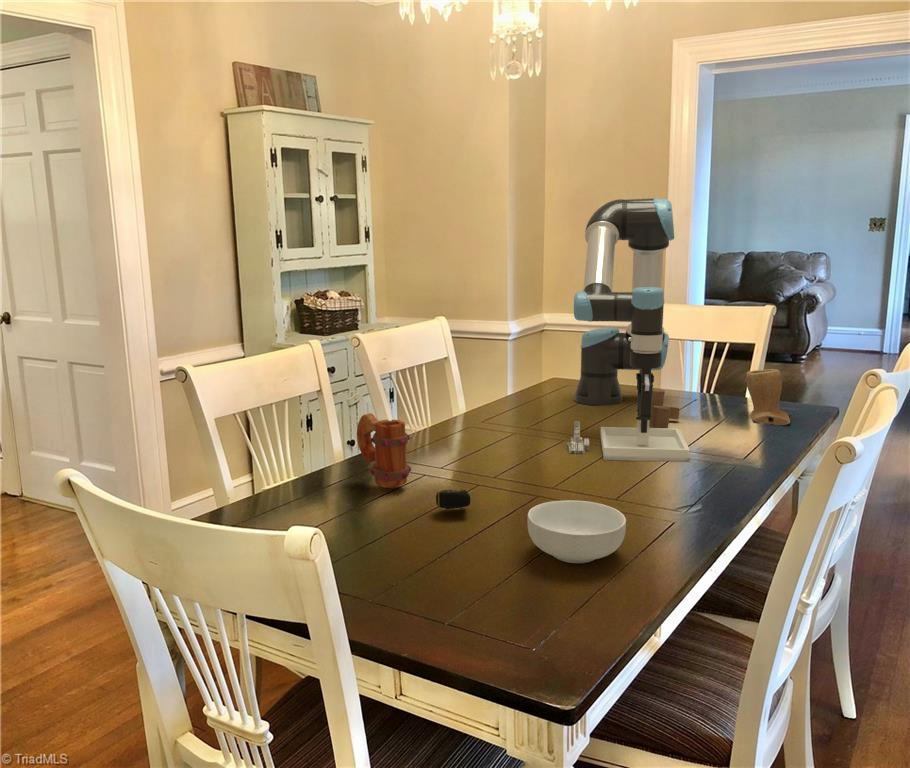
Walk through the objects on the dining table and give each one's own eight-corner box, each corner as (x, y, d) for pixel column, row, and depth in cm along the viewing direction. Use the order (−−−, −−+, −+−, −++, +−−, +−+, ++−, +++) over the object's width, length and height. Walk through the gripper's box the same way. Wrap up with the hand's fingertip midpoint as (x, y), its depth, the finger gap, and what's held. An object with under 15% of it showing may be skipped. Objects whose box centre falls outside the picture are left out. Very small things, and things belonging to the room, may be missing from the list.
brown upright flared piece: (743, 414, 231) (746, 364, 228) (786, 416, 228) (790, 366, 225) (743, 426, 217) (746, 373, 214) (790, 429, 214) (794, 375, 211)
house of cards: (604, 457, 192) (605, 427, 190) (569, 457, 192) (569, 426, 191) (601, 447, 200) (602, 418, 199) (567, 446, 201) (567, 417, 200)
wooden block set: (673, 438, 207) (678, 400, 205) (639, 433, 210) (644, 396, 207) (678, 423, 223) (682, 388, 221) (647, 419, 226) (651, 384, 224)
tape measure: (471, 510, 153) (470, 491, 153) (436, 512, 152) (435, 493, 153) (470, 506, 159) (469, 488, 160) (436, 508, 159) (435, 489, 159)
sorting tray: (600, 437, 208) (600, 426, 207) (678, 439, 205) (678, 428, 204) (603, 459, 188) (603, 447, 188) (689, 462, 186) (689, 450, 185)
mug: (419, 484, 172) (418, 418, 169) (392, 494, 166) (390, 425, 163) (375, 471, 182) (373, 408, 179) (348, 479, 176) (345, 414, 173)
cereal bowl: (641, 569, 129) (643, 529, 127) (545, 580, 125) (545, 538, 124) (601, 531, 145) (602, 494, 144) (515, 539, 142) (515, 502, 140)
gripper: (628, 346, 199) (625, 436, 204) (632, 355, 186) (629, 451, 190) (658, 346, 198) (655, 437, 203) (664, 355, 185) (661, 451, 189)
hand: (642, 443), depth 196 cm, fingers closed
